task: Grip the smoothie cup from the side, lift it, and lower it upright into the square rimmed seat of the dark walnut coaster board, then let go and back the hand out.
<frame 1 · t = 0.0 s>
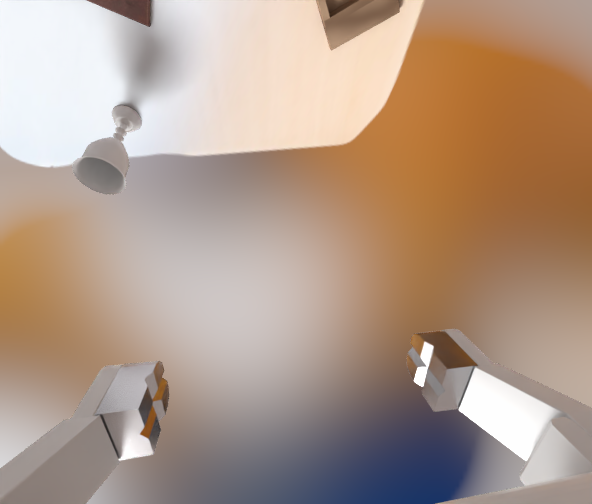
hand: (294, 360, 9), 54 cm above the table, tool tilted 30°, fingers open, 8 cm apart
chalice: (127, 117, 54), on the table
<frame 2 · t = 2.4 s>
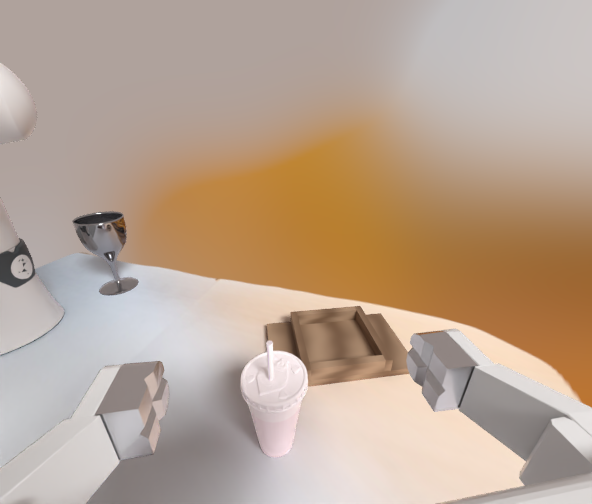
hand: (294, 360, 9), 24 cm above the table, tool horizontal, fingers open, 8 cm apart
wine glass: (119, 286, 58), on the table
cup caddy: (334, 348, 42), on the table
smoothie: (276, 440, 30), on the table
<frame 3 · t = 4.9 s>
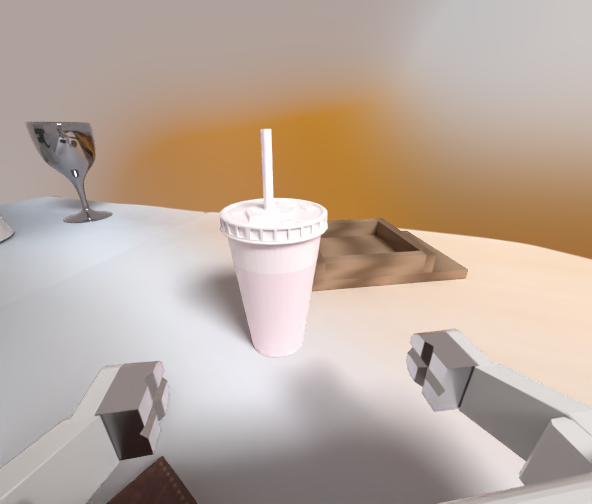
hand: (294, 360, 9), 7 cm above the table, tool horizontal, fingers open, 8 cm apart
wine glass: (89, 217, 48), on the table
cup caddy: (352, 259, 32), on the table
smoothie: (278, 340, 20), on the table
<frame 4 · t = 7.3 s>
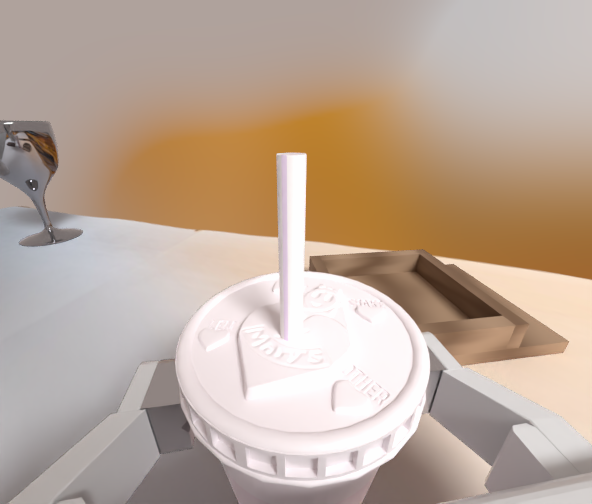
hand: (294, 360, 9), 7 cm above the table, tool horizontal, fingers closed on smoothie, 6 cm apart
wine glass: (53, 237, 40), on the table
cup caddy: (391, 313, 23), on the table
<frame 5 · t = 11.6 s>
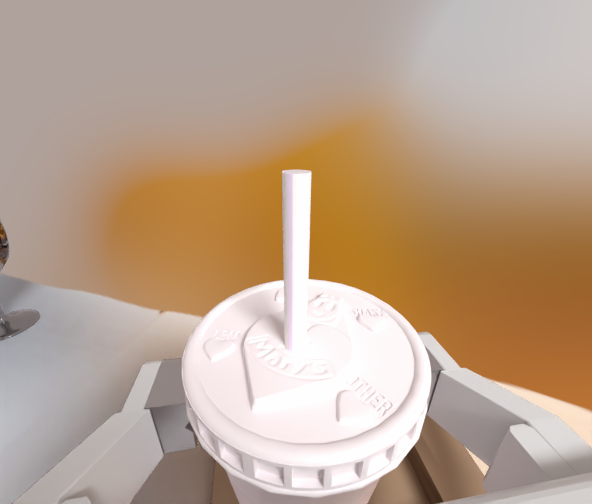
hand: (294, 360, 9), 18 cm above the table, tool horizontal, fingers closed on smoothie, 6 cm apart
wine glass: (6, 326, 37), on the table
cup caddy: (345, 472, 22), on the table
when the fingers open (10 cm above the table, at t = 15.7 s): smoothie moves 3 cm, resting on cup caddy.
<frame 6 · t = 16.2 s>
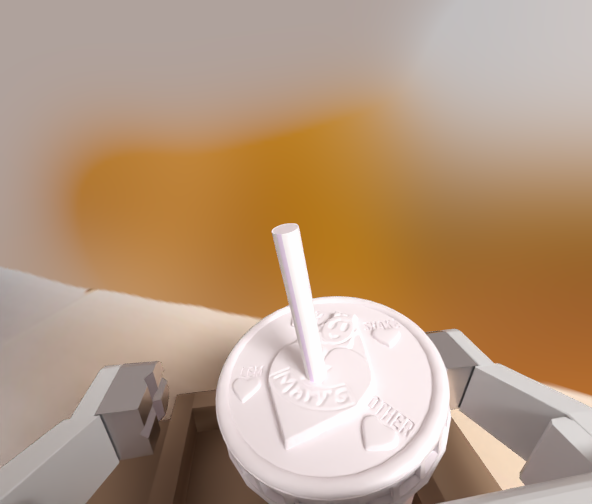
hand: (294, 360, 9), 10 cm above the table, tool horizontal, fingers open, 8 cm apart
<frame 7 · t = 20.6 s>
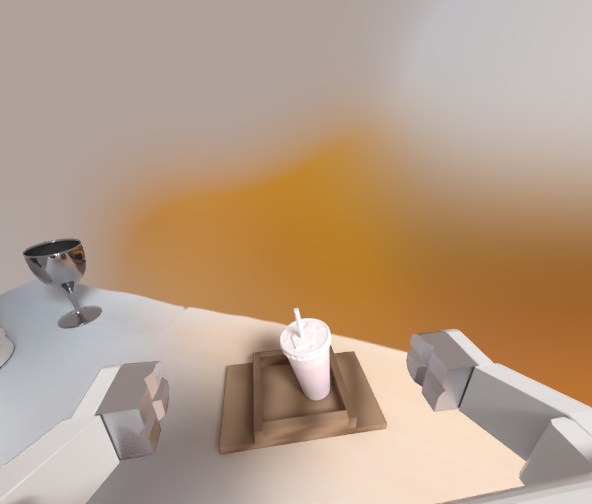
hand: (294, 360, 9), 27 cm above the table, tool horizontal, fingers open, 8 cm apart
wine glass: (80, 317, 55), on the table
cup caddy: (298, 396, 38), on the table
smoothie: (316, 388, 38), point 1 cm above the table, touching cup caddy
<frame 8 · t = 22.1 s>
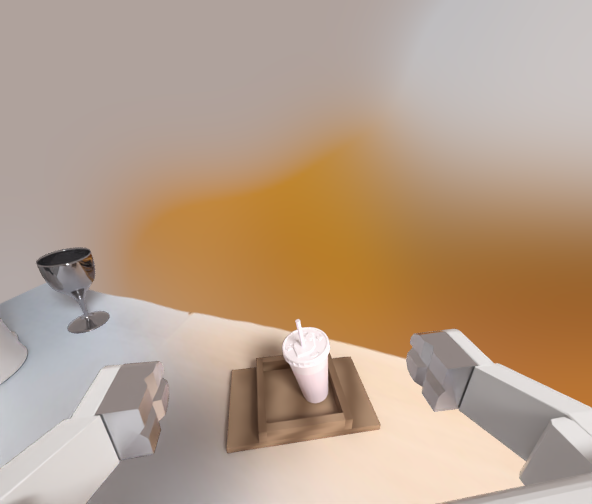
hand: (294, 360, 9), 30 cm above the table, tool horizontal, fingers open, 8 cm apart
wine glass: (89, 322, 57), on the table
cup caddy: (298, 399, 41), on the table
smoothie: (315, 392, 41), point 1 cm above the table, touching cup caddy
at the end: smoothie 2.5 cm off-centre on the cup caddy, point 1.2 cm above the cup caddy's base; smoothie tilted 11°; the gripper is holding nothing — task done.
